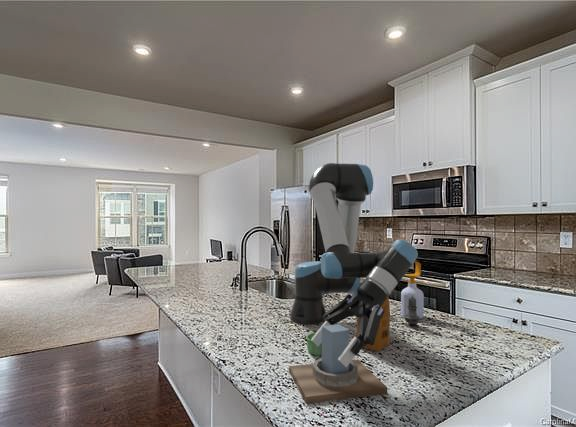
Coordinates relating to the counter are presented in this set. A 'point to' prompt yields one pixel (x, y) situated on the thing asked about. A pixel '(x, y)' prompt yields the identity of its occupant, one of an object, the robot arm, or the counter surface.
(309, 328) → the counter surface
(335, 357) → the slate peg
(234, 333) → the counter surface
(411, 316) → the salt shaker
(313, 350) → the ramekin
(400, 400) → the counter surface
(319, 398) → the collar plate
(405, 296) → the soap bottle
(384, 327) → the coffee package
